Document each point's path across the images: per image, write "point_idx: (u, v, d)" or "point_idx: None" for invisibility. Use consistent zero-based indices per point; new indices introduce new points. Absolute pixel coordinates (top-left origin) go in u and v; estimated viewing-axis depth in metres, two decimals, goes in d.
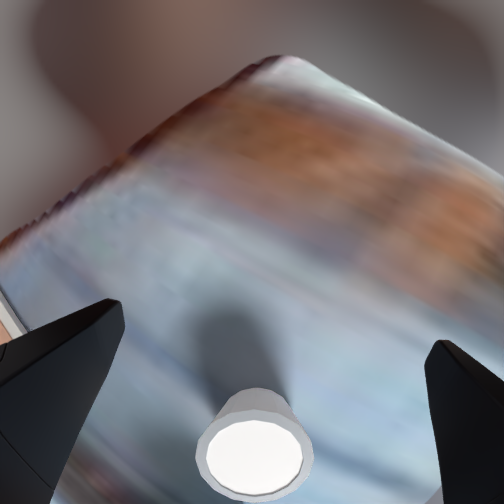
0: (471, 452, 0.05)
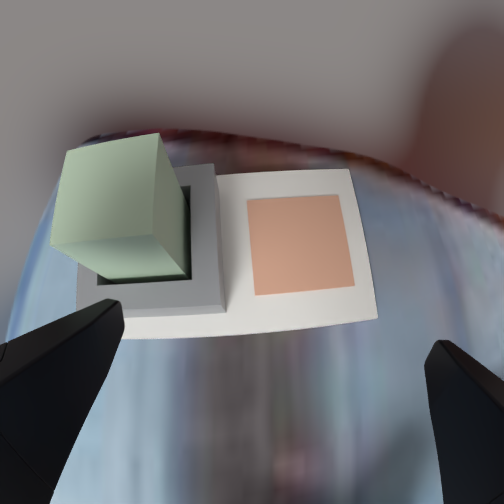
0: (471, 452, 0.05)
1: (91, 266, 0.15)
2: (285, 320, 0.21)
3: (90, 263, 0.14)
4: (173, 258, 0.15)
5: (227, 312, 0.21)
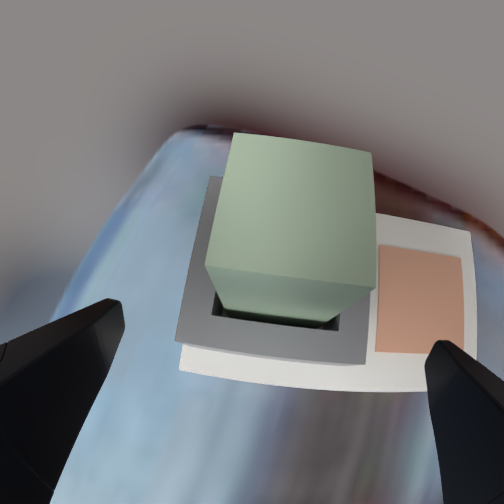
0: (471, 452, 0.05)
1: (226, 296, 0.12)
2: (398, 381, 0.17)
3: (232, 293, 0.12)
4: None
5: (344, 366, 0.17)
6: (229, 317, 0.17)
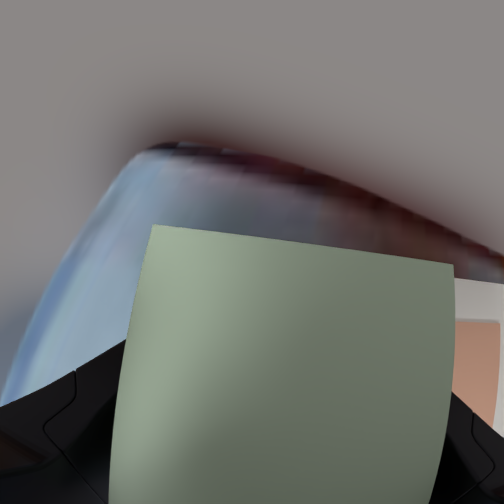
0: None
1: None
2: None
3: None
4: None
5: None
6: None
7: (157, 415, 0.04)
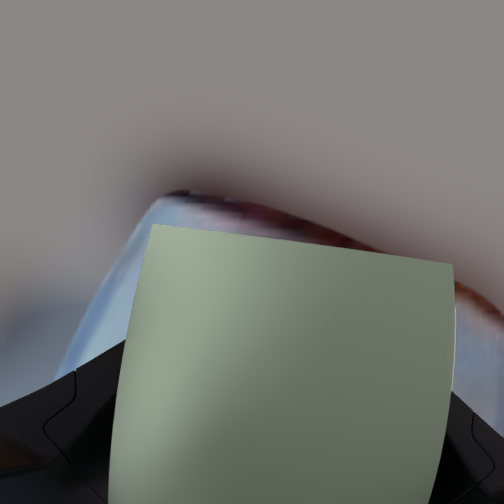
0: None
1: None
2: None
3: None
4: None
5: None
6: None
7: (156, 414, 0.04)
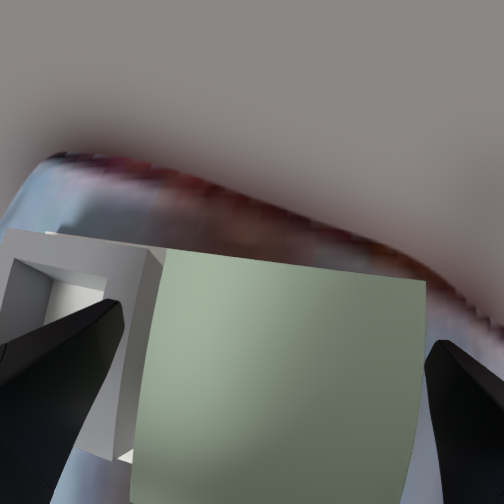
0: (471, 452, 0.05)
1: None
2: None
3: None
4: None
5: None
6: None
7: (174, 407, 0.05)
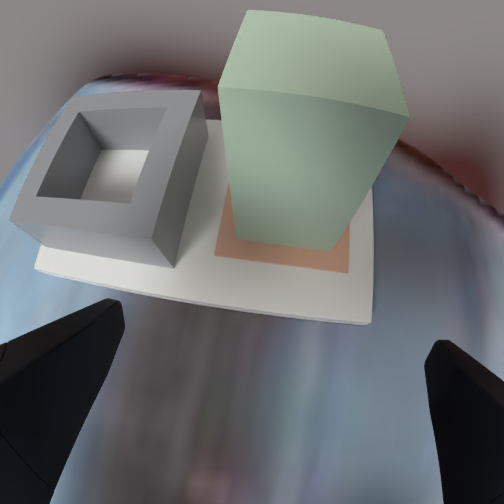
0: (471, 452, 0.05)
1: (237, 168, 0.10)
2: (245, 295, 0.16)
3: (244, 158, 0.10)
4: (370, 185, 0.10)
5: (175, 268, 0.16)
6: (236, 233, 0.16)
7: (254, 45, 0.08)
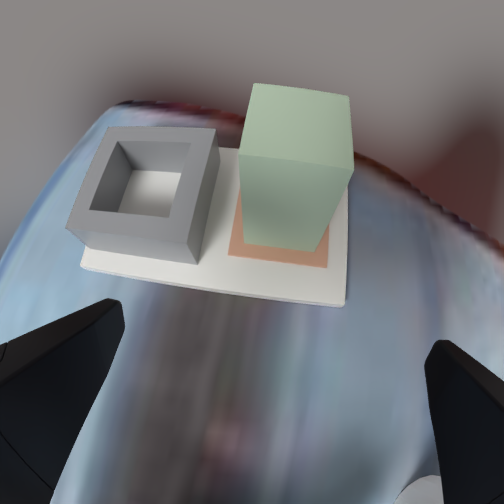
0: (471, 452, 0.05)
1: (247, 198, 0.16)
2: (250, 284, 0.21)
3: (252, 192, 0.16)
4: None
5: (198, 264, 0.22)
6: (244, 239, 0.22)
7: (259, 119, 0.14)
